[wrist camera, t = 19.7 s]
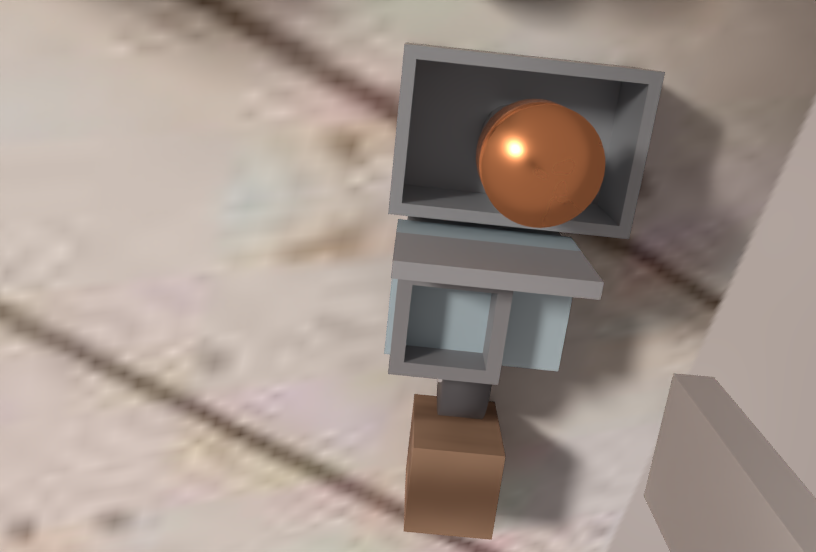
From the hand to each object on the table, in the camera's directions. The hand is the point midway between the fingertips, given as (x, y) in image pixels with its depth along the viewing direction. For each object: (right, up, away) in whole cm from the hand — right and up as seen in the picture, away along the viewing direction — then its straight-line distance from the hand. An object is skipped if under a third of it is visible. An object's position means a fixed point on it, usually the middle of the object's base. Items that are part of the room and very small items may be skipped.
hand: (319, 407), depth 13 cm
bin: (+7, +10, +25) cm, 28 cm away
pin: (+7, +10, +24) cm, 27 cm away
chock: (+4, -8, +31) cm, 32 cm away
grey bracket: (+5, +1, +28) cm, 29 cm away
